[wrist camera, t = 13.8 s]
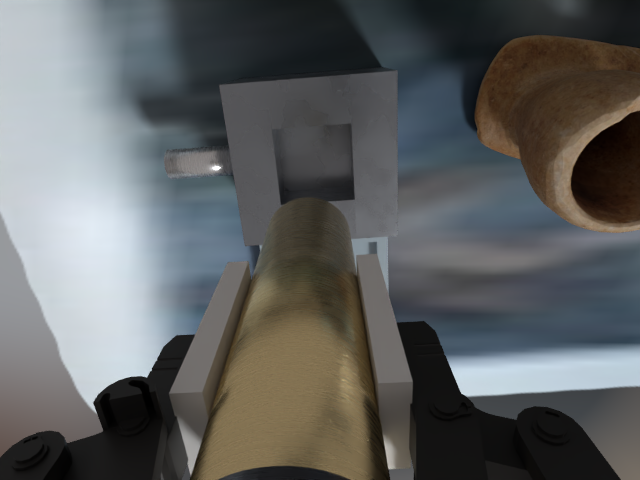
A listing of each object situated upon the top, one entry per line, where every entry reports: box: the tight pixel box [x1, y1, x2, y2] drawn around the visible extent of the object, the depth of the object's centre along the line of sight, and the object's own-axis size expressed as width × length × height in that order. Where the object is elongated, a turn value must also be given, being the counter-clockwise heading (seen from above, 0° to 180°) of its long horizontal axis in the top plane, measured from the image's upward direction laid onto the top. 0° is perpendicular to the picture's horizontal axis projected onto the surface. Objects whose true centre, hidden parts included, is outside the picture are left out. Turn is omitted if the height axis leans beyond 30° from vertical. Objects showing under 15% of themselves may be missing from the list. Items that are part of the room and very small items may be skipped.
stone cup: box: [475, 35, 640, 233], centre depth 30 cm, size 15×12×15 cm
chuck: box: [164, 67, 398, 246], centre depth 35 cm, size 12×18×8 cm, turn 94°
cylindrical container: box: [190, 197, 390, 480], centre depth 13 cm, size 4×4×16 cm
